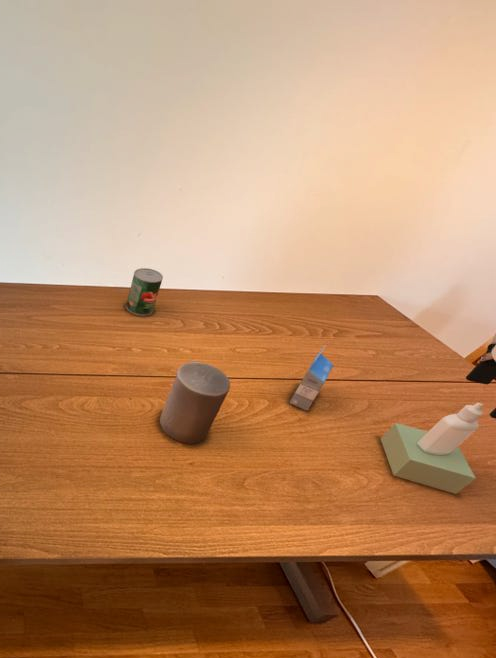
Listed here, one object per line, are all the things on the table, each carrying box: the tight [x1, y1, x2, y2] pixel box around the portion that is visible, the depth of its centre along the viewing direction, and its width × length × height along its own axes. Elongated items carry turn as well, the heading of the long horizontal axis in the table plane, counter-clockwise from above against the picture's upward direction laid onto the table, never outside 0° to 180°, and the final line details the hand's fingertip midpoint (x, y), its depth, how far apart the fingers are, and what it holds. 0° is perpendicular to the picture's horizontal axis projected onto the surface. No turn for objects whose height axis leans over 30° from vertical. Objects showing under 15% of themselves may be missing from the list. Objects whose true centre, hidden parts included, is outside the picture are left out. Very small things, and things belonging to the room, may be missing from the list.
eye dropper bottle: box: [417, 402, 484, 455], centre depth 76 cm, size 4×6×12 cm
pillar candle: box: [159, 361, 231, 445], centre depth 83 cm, size 10×10×15 cm
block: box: [380, 422, 477, 495], centre depth 81 cm, size 10×10×5 cm
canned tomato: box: [125, 267, 164, 317], centre depth 120 cm, size 8×8×11 cm
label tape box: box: [289, 344, 334, 412], centre depth 93 cm, size 9×4×12 cm, turn 137°
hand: (487, 399), depth 71 cm, fingers open, 9 cm apart
